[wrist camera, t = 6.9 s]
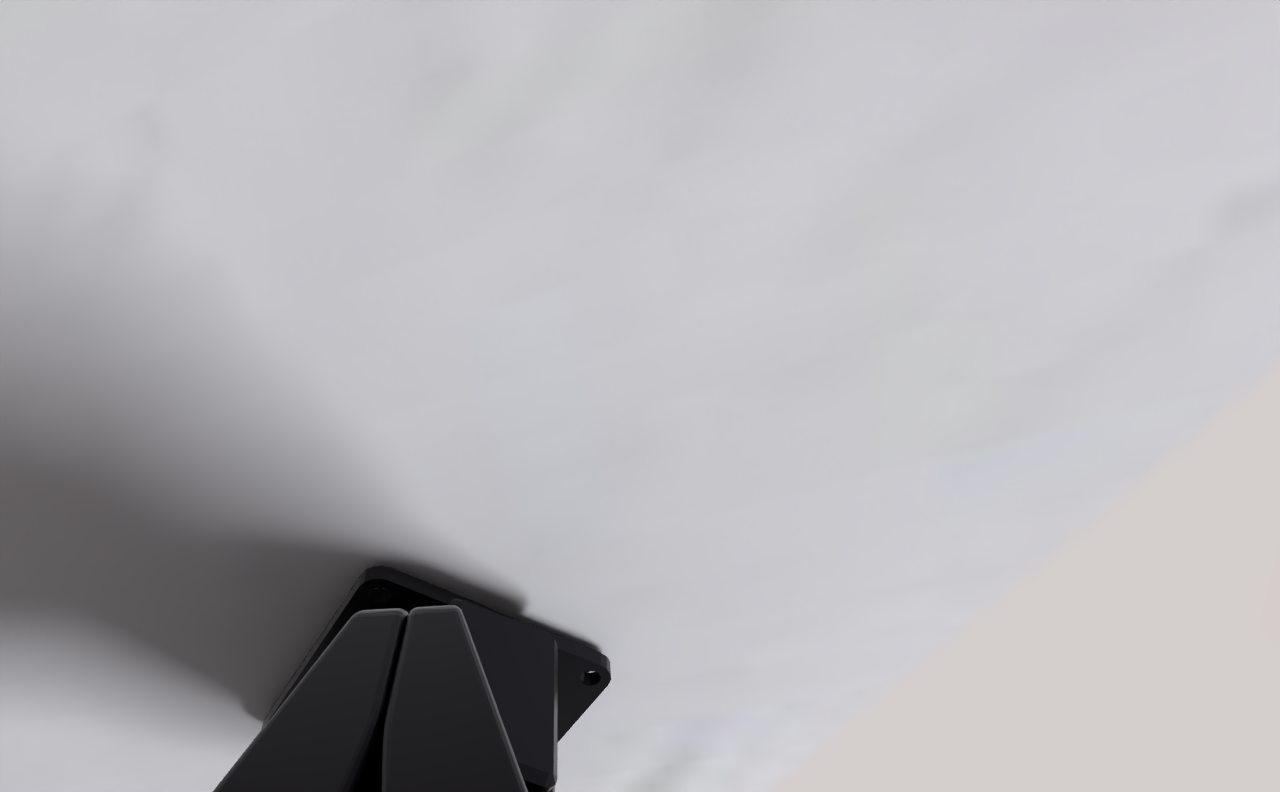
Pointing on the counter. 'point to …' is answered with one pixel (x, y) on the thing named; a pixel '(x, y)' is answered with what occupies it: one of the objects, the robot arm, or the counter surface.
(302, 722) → the robot arm
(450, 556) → the counter surface
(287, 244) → the counter surface
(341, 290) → the counter surface
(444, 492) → the counter surface
